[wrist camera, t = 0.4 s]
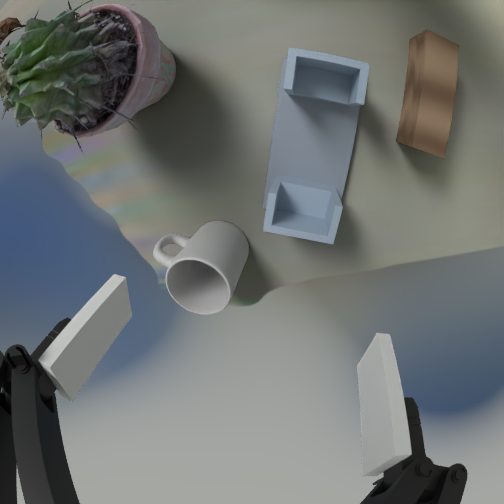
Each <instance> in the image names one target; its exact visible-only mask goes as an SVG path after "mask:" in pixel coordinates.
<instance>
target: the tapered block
mask: <svg viewBox="0 0 504 504" xmlns="http://www.w3.org/2000/svg"><path fill="white" fill-rule="evenodd" d="M458 56H459V45H457V44H455V43H454V42H452V41H450V40H448V39H446V38H444V37H442V36H439V35H437V34H435V33H433V32H431V31H429V30H425V31H423V32H422V33H420V34H418V35H417V36H415V37H413V38H412V39H410V46H409V58H408V68H407V77H406V85H405V92H404V99H403V106H402V112H401V118H400V123H399V129H398V134H397V139H396V141H397V142H399V143H402V144H405V145H408V146H410V147H413V148H416V149H419V150H421V151H424V152H427V153H430V154H432V155H435V156H438V157H440V158H443V159H444V156H445V152H446V147H447V142H448V137H449V132H450V127H451V121H452V115H453V108H454V101H455V93H456V84H457V73H458Z"/></svg>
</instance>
